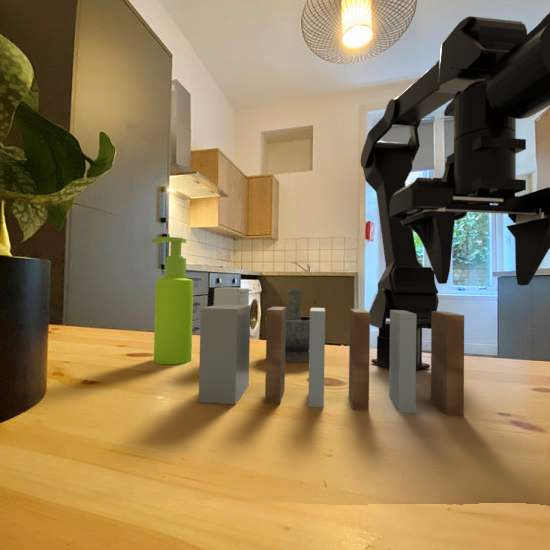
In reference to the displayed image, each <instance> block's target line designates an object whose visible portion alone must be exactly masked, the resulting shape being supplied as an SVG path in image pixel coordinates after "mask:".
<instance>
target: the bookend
mask: <svg viewBox="0 0 550 550" xmlns="http://www.w3.org/2000/svg"><path fill="white" fill-rule="evenodd" d="M199 337H200V338H199V368H198V369H199V370H198V371H199V372H198V373H199V375H198V403H202V404H203V403H204V404H206V403H207V404H222V405H236V404H237V403H238V401H240V398H241V397H242V395H243V394H244V393H245V392H246V390H247V389H248V387H249V385H250V383H249V381H250V349H251V348H250V342H251V341H250V339H251V305H250V304H248V305H225V304H219V305H214V304H213V305H210V306H209V305H208V306H205V307H201V308H200V335H199Z"/></svg>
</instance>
